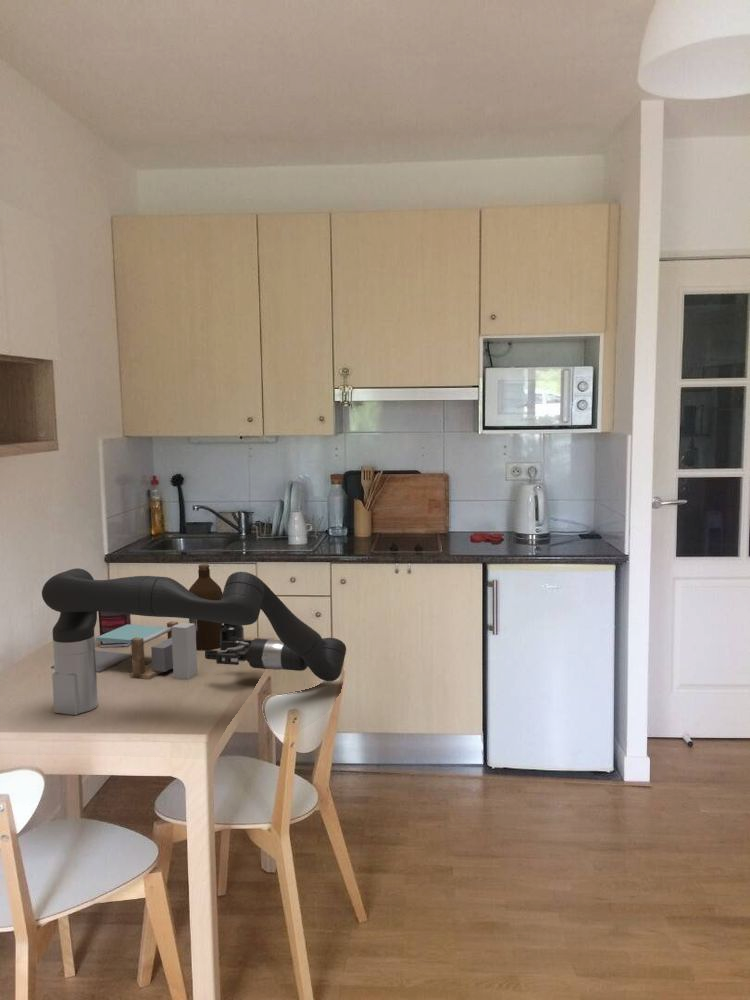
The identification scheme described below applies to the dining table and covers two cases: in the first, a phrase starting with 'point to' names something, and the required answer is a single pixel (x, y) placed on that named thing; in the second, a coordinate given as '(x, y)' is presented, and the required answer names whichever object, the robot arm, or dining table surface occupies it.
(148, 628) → the teal topped platform
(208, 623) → the olive oil
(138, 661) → the stand
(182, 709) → the dining table surface
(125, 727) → the dining table surface
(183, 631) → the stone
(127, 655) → the mat
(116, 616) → the supplement box
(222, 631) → the supplement bottle
